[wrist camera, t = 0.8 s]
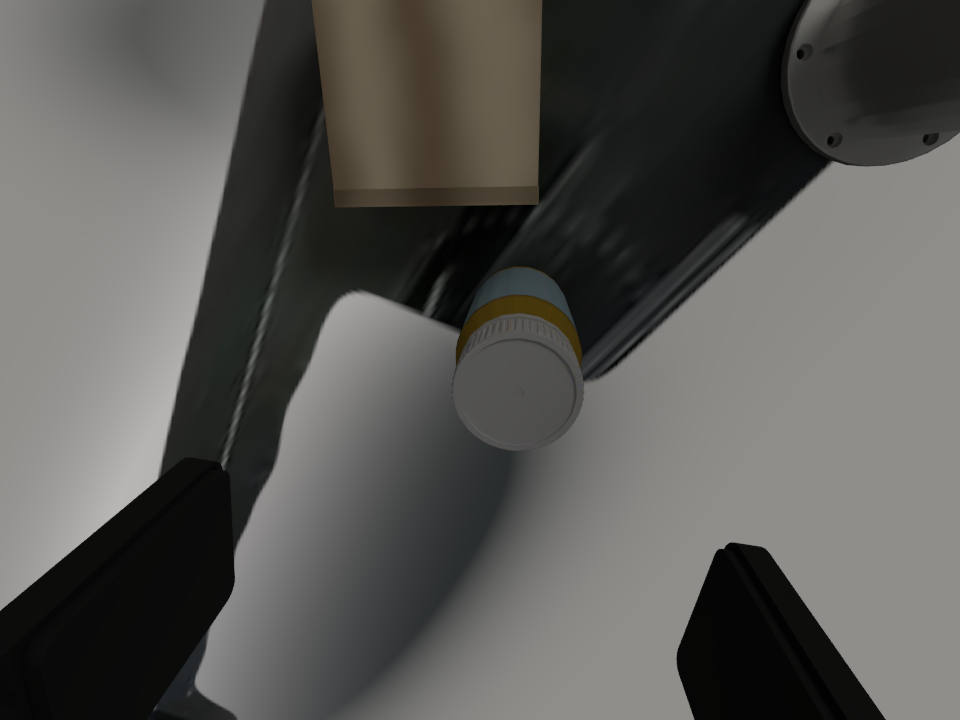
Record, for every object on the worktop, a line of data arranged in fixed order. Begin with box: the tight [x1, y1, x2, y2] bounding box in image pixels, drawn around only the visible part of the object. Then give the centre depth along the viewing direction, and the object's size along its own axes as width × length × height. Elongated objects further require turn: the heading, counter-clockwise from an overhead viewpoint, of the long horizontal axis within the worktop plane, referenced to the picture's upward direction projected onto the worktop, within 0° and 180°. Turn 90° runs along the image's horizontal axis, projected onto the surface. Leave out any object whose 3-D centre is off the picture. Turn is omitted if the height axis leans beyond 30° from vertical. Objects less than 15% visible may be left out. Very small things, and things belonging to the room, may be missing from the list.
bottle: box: [452, 266, 584, 451], centre depth 29 cm, size 7×7×15 cm
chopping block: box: [312, 0, 542, 207], centre depth 29 cm, size 12×12×6 cm
